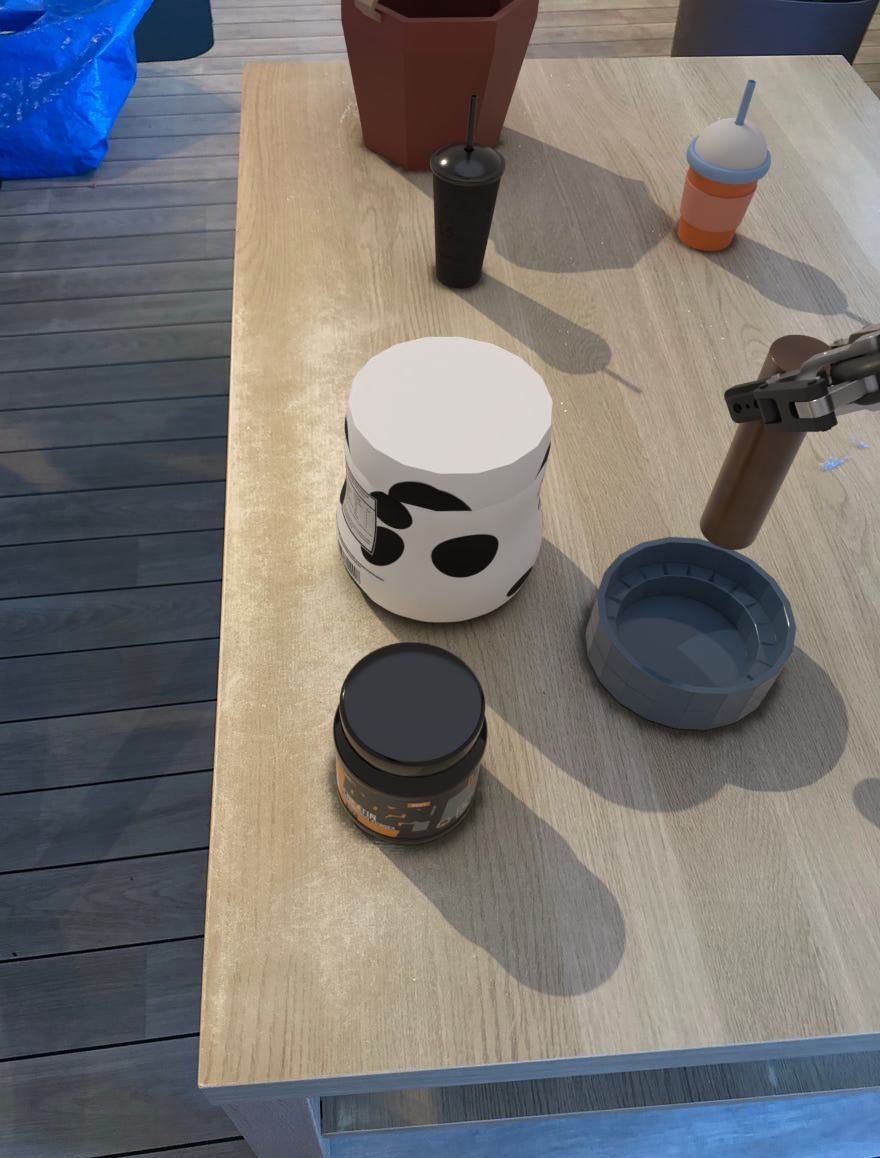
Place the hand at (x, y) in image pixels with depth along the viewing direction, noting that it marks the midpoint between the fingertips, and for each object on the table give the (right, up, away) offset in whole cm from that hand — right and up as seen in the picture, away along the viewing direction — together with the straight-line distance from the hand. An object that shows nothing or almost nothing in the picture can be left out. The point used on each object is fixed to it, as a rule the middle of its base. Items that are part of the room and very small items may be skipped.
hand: (757, 391), depth 62 cm
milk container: (-19, -9, +25) cm, 33 cm away
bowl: (+1, -17, +20) cm, 26 cm away
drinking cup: (-16, +25, +49) cm, 57 cm away
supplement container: (-22, -26, +13) cm, 37 cm away
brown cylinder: (+1, -8, +8) cm, 11 cm away
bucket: (-18, +48, +66) cm, 84 cm away
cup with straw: (+13, +32, +55) cm, 65 cm away
